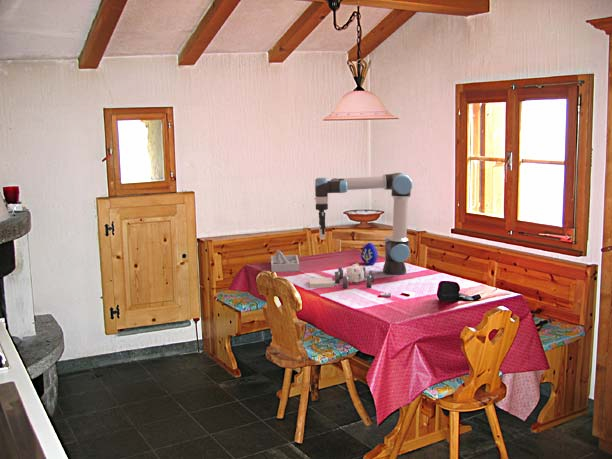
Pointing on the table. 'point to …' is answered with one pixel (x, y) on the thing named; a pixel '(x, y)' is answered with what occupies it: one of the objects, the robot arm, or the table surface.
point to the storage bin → (284, 266)
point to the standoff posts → (345, 278)
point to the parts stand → (321, 282)
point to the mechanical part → (355, 273)
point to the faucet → (283, 258)
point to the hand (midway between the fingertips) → (322, 237)
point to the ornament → (369, 254)
